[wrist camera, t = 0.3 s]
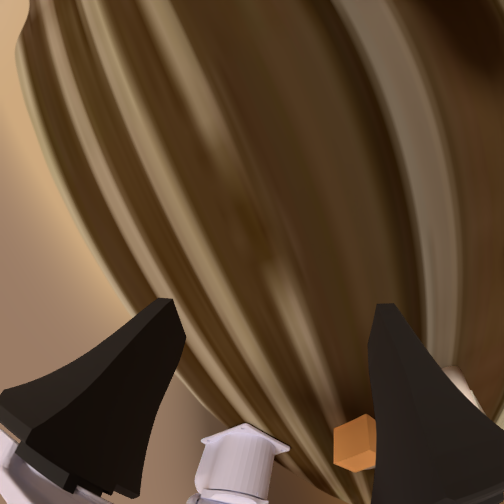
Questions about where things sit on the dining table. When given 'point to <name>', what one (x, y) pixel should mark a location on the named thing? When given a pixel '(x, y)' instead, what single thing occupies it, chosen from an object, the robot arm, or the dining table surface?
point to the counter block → (355, 444)
